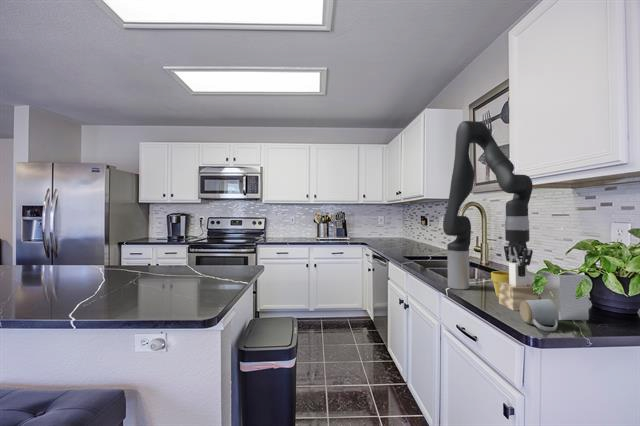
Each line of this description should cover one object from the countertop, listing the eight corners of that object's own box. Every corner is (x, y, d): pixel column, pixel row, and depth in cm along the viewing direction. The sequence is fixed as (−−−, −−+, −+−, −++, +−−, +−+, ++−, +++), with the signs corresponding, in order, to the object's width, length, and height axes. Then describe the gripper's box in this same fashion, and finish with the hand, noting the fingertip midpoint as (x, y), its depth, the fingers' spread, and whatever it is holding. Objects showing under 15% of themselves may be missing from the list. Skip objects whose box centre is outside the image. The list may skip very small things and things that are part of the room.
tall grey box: (540, 311, 109) (540, 271, 109) (566, 310, 109) (566, 270, 109) (560, 320, 100) (559, 276, 100) (588, 319, 100) (588, 276, 100)
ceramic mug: (518, 319, 102) (517, 295, 101) (545, 320, 101) (545, 296, 100) (535, 332, 91) (535, 306, 91) (566, 333, 90) (566, 306, 90)
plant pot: (512, 293, 132) (512, 270, 132) (526, 300, 122) (525, 275, 122) (487, 293, 133) (486, 270, 133) (498, 300, 123) (498, 275, 123)
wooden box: (499, 303, 119) (498, 282, 119) (522, 302, 119) (522, 282, 119) (513, 310, 110) (513, 287, 110) (538, 310, 110) (538, 287, 110)
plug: (509, 286, 117) (508, 262, 117) (522, 286, 117) (521, 262, 117) (515, 289, 113) (515, 264, 113) (529, 289, 113) (528, 264, 113)
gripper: (496, 227, 122) (496, 271, 122) (518, 229, 108) (519, 279, 108) (515, 227, 122) (516, 271, 122) (540, 229, 108) (541, 279, 108)
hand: (517, 274), depth 115 cm, fingers closed on plug, 4 cm apart
